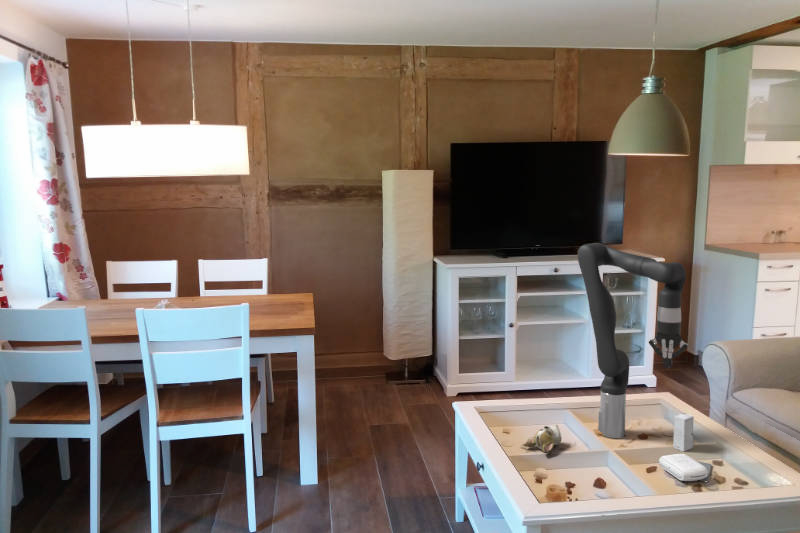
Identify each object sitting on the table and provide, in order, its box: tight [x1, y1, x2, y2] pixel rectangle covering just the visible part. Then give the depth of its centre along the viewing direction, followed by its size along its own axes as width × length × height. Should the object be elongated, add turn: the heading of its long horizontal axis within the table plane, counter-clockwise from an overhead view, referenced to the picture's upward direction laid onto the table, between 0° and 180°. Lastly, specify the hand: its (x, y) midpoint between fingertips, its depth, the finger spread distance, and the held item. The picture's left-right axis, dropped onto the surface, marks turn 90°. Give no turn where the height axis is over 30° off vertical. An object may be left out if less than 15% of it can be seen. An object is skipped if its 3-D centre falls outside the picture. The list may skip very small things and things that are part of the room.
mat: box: [696, 460, 712, 482], centre depth 196 cm, size 10×14×1 cm
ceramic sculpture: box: [522, 424, 562, 454], centre depth 214 cm, size 11×9×15 cm
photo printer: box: [658, 453, 708, 482], centre depth 191 cm, size 10×4×12 cm
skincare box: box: [672, 412, 695, 452], centre depth 213 cm, size 6×4×12 cm
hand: (667, 367), depth 204 cm, fingers closed
